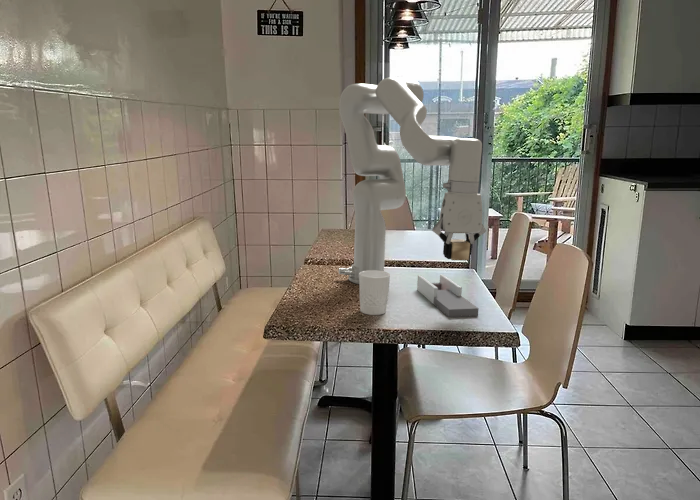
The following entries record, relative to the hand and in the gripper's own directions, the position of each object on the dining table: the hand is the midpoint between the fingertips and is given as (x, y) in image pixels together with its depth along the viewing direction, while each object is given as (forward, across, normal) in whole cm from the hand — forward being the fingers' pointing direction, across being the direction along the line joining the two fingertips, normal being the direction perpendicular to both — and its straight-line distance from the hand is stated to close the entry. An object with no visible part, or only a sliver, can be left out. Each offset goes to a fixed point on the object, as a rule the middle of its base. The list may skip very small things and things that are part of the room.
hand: (456, 257), depth 140 cm
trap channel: (+14, 0, +6) cm, 15 cm away
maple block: (0, 0, 0) cm, 0 cm away
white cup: (+15, -22, +1) cm, 26 cm away
